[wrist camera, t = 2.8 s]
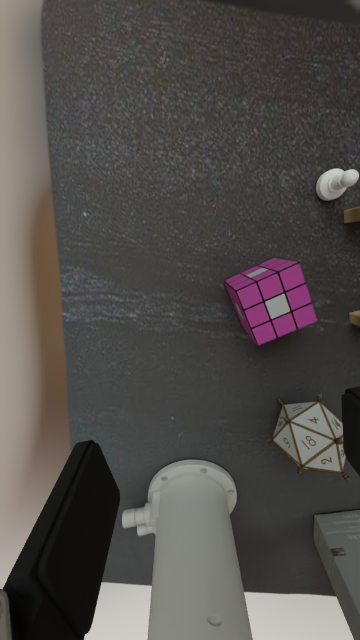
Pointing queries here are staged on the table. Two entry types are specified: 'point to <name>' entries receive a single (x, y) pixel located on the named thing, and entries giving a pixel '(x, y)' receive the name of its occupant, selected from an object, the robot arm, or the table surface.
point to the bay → (350, 216)
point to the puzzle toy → (272, 299)
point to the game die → (311, 437)
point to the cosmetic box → (342, 560)
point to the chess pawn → (335, 183)
